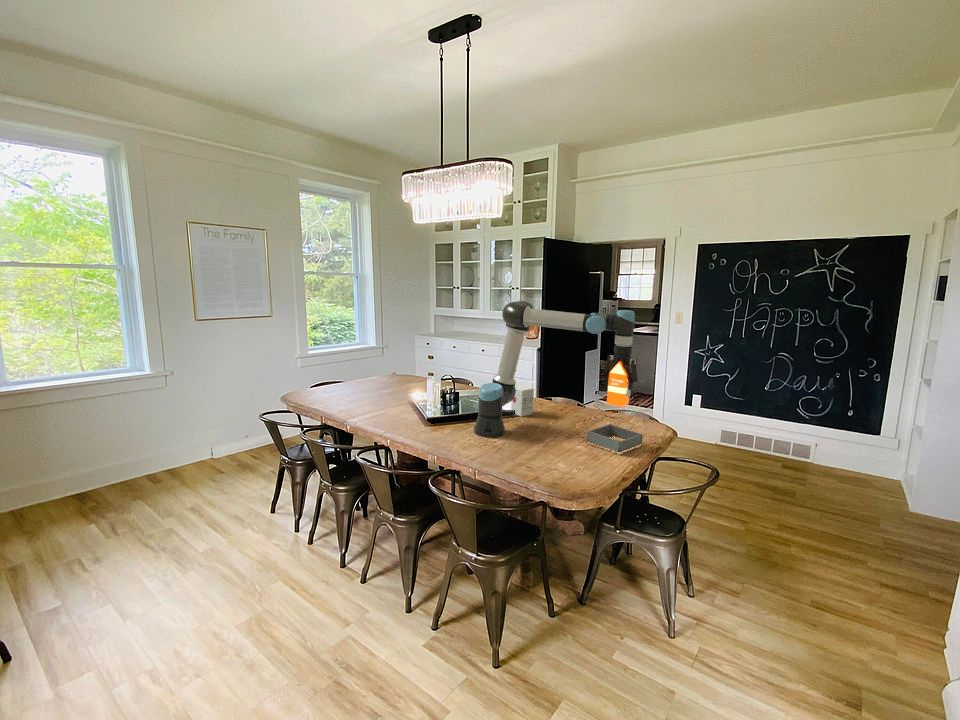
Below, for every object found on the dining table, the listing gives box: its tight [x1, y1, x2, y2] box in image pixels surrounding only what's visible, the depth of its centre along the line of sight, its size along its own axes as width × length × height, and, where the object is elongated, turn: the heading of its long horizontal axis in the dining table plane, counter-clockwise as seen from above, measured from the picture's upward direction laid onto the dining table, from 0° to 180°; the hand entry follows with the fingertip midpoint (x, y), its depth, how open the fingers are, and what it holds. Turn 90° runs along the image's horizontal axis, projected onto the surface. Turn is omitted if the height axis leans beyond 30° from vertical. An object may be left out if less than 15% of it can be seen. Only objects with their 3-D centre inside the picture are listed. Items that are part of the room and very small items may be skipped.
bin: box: [586, 423, 644, 452], centre depth 210 cm, size 18×18×6 cm
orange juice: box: [606, 361, 630, 408], centre depth 205 cm, size 8×9×20 cm
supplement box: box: [510, 384, 535, 418], centre depth 253 cm, size 9×9×15 cm
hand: (618, 394), depth 206 cm, fingers closed on orange juice, 9 cm apart
